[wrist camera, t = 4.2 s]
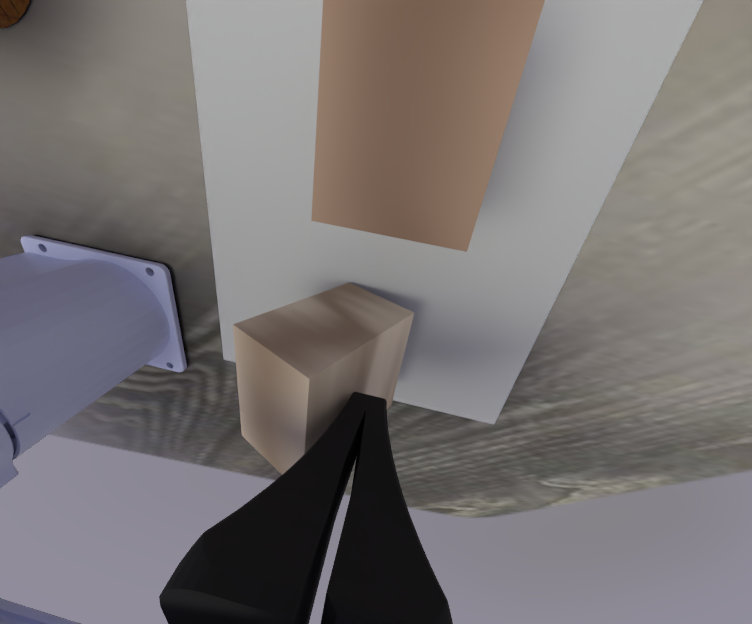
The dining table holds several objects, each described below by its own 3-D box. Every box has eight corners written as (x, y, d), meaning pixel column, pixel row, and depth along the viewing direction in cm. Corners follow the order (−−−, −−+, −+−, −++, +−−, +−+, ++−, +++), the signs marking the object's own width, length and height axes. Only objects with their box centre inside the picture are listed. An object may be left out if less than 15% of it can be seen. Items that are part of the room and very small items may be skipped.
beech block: (344, 367, 19) (241, 435, 14) (355, 280, 16) (232, 324, 11) (396, 400, 17) (301, 494, 12) (419, 309, 14) (309, 379, 9)
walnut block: (364, 192, 14) (311, 220, 8) (387, 19, 11) (331, -154, 5) (451, 208, 14) (466, 251, 7) (497, 35, 11) (583, -127, 5)
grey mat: (227, 356, 21) (223, 359, 20) (180, -123, 11) (171, -133, 10) (492, 419, 19) (493, 424, 19) (724, -58, 9) (736, -67, 9)
